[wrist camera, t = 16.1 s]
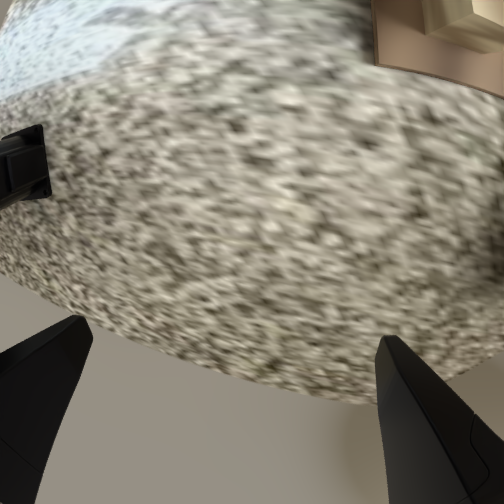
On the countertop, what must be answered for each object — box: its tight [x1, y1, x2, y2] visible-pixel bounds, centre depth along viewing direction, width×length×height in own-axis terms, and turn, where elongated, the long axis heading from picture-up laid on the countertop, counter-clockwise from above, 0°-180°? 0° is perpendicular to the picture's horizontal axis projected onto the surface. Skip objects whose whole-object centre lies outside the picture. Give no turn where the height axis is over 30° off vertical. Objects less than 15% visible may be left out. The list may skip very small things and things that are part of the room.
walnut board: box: [370, 0, 504, 99], centre depth 11 cm, size 11×11×1 cm
